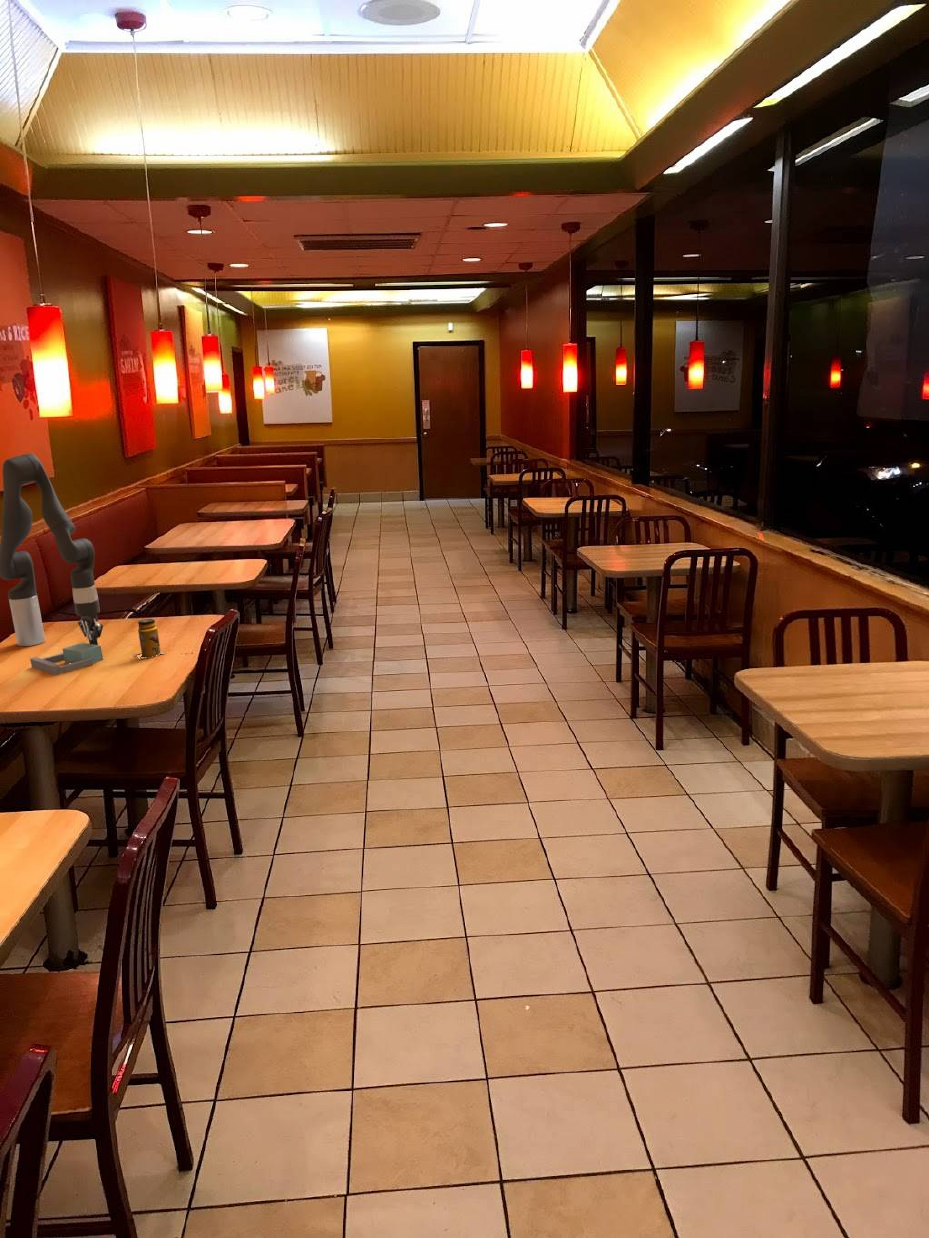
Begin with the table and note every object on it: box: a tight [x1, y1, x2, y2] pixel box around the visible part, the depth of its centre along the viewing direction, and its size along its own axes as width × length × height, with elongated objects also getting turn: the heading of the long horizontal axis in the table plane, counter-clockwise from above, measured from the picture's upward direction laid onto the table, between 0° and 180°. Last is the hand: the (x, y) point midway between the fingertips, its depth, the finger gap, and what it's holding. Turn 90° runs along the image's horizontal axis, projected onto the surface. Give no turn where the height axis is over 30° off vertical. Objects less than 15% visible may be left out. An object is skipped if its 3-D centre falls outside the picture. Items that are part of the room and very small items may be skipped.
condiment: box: [133, 618, 164, 661], centre depth 308 cm, size 7×8×12 cm
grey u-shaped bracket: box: [29, 652, 94, 676], centre depth 302 cm, size 16×13×3 cm
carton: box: [62, 642, 104, 664], centre depth 306 cm, size 10×8×5 cm
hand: (94, 649), depth 310 cm, fingers closed
